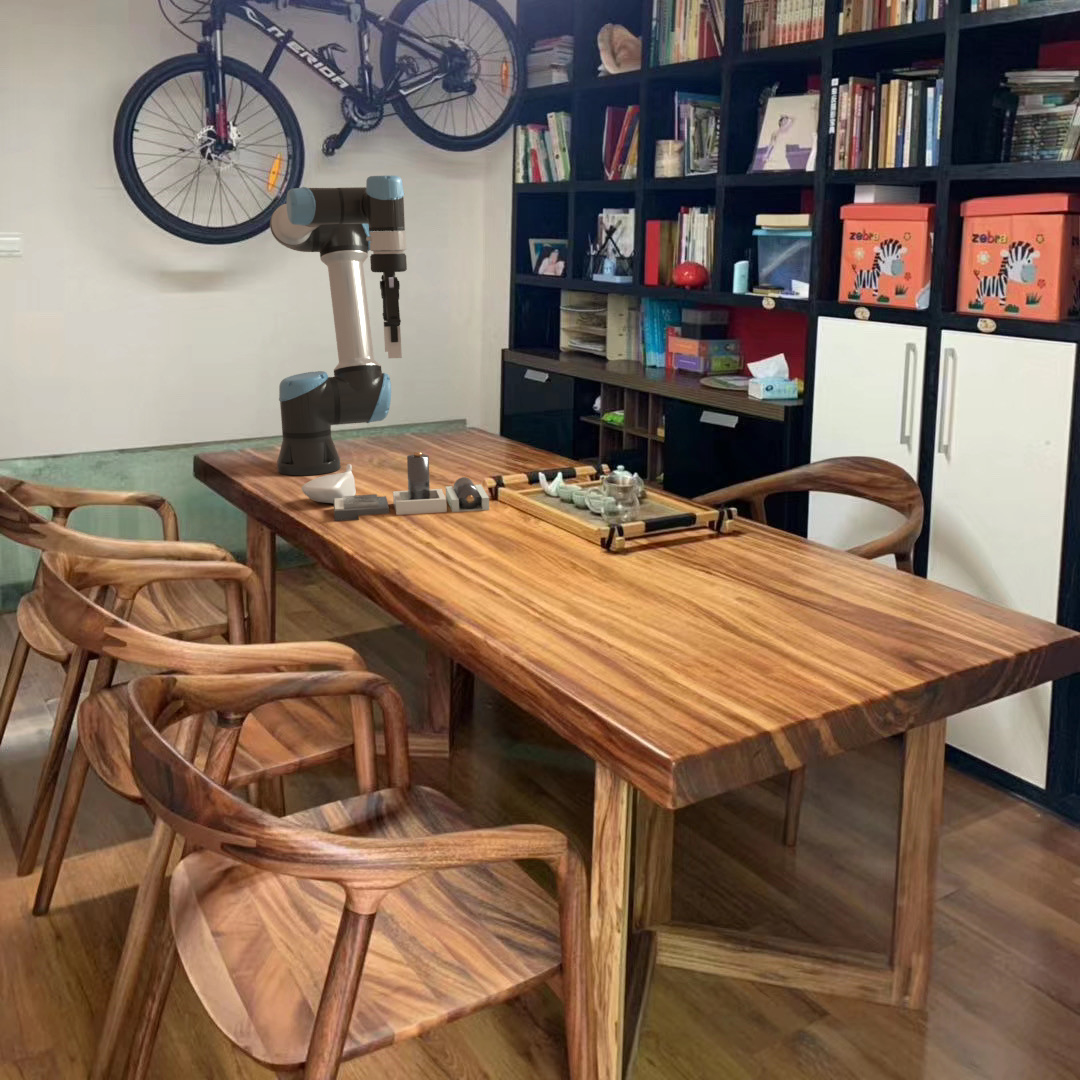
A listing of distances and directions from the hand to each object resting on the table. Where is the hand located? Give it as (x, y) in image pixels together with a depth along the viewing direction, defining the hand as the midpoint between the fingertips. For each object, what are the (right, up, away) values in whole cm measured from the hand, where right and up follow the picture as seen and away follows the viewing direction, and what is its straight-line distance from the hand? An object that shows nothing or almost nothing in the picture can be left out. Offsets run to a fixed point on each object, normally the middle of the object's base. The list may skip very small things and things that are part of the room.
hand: (393, 354), depth 257 cm
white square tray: (+7, -34, -8) cm, 35 cm away
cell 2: (+16, -32, -5) cm, 36 cm away
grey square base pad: (-6, -34, -8) cm, 35 cm away
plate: (-6, -32, -8) cm, 34 cm away
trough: (+16, -33, -5) cm, 37 cm away
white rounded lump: (-14, -32, +4) cm, 35 cm away
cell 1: (+6, -33, -8) cm, 35 cm away
